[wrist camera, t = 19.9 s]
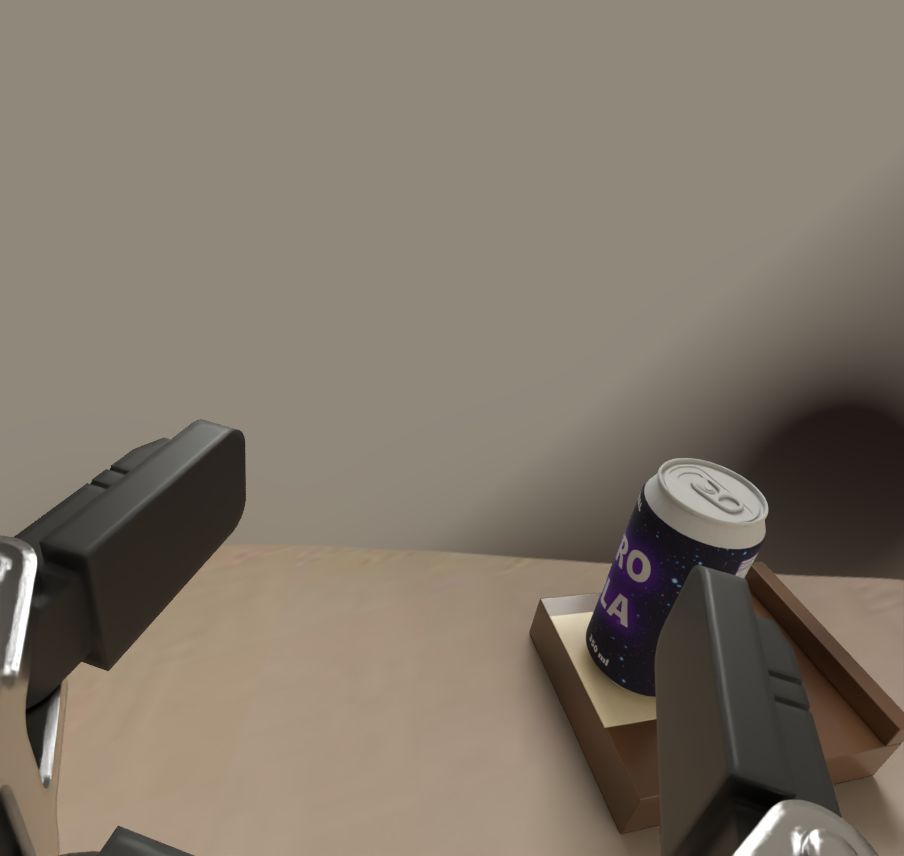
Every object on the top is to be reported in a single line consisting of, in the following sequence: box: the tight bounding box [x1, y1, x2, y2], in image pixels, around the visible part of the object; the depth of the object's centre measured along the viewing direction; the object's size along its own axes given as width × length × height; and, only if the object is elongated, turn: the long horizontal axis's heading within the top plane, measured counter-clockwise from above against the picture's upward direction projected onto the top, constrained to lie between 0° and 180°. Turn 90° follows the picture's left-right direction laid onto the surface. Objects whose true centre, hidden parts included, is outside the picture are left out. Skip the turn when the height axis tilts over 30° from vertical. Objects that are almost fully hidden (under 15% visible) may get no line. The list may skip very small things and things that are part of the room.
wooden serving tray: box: [530, 562, 904, 834], centre depth 36 cm, size 12×16×4 cm
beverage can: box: [586, 458, 768, 697], centre depth 31 cm, size 6×6×12 cm
